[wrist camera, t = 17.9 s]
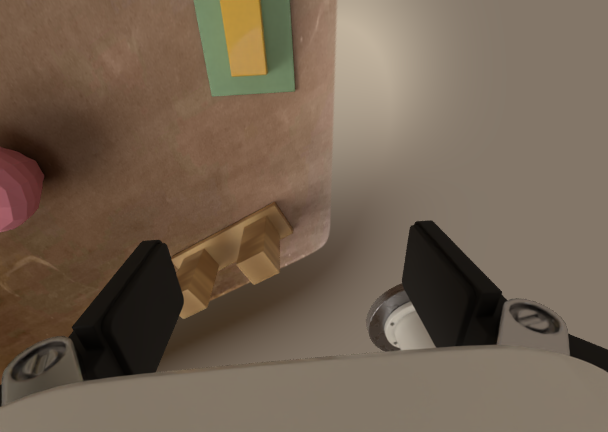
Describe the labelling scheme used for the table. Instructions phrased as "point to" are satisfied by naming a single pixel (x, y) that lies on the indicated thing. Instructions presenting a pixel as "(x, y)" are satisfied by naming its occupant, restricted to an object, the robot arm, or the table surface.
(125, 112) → the table surface
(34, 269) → the table surface
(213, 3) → the mat
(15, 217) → the apple
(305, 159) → the table surface
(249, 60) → the bar
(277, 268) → the light wood u-shaped piece
